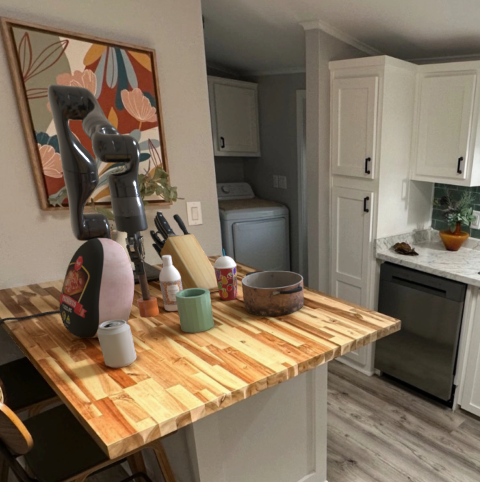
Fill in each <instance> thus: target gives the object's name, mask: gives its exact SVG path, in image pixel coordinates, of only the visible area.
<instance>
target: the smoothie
mask: <svg viewBox="0 0 480 482" xmlns="http://www.w3.org/2000/svg"><path fill="white" fill-rule="evenodd" d="M221 251H222V255H221V256H219V257H217V258H216V260H215V261H214V264H213V268H214V270H215V275H216V280H217V285H218V295H219V297H220V298H221V300H223V301H232V300H235V299H237V296H238V295H239V293H238V272H237V271H238V270H237V263H236V262H235V260H234V259H233V258H232V257H231V256H228V255H226V254H225V253H226V252H225V249H224V248H222V250H221Z"/></svg>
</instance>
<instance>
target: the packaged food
mask: <svg viewBox="0 0 480 482" xmlns="http://www.w3.org/2000/svg"><path fill="white" fill-rule="evenodd" d="M111 239H112V238H111ZM111 239H107V238H95V239H91V240H88V241H84V242H83V243H82V244H80V246H79V247H78V248H77V249H76V251H75V252H74V254H73V255H72V257H71V259H70V261H69V263H68V266H67V267H66V270H65V271H66V272H65V274H64V275H65V276H64V280H63V284H62V288H61V292H60V297H59V310H60V313H59V315H60V318H61V322H62V324H63V326H64V328H65V329H66V331H68V332H69V334H72V335H73V336H74V337H76V338H82V339H93V338H98V334H97V331H98V329H99V325H100V324H101V323H103V322H106V321H110V320H118V319H119V320H125V321H126V324H128V323H129V319H130V315H131V311H132V307H133V303H134V302H133V301H134V295H135V294H134V293H135V276H134V271H133V267H132V265H131V260H130V257H129V255H128V254H127V252H126V250H125V248H124V247H123V246H122V244H120V243H119V242H117V241H115V240H113V239H112V240H111Z"/></svg>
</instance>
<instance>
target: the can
mask: <svg viewBox="0 0 480 482" xmlns="http://www.w3.org/2000/svg"><path fill="white" fill-rule="evenodd" d="M97 334H98V337H97V338H98V342H99V345H100V349H101V354H102V357H103V361H104V364H105V366H108V367H110V368H113V369H119V368H125V367H127V366H130V365H131V364H133V363H134V361H136V359H137V352H136V348H135V343H134V339H133V334H132V330H131V325H129V324H128V323H127V324H126V321H125V320H119V319H118V320H110V321H106V322H103V323H101V324H100V325H99V329H98V331H97Z"/></svg>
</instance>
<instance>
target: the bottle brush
mask: <svg viewBox="0 0 480 482" xmlns="http://www.w3.org/2000/svg"><path fill="white" fill-rule="evenodd" d="M135 257H138V256H135ZM142 258H143V257H142ZM143 264H144V262H143ZM144 270H145V267H144ZM137 278H138V282H139V287H140V292H141V297H139V298H138V299H137V300H136V302H137V307H138V313H139V316H140V317H141V318H144V319H148V318H149V319H150V318H154V317H157V316H159V315H160V311H159V305H158V300H157V299H158V298H157V297H156V296H151V294H150V288H149V284H148V278H147V272H145V274H144V275H137Z"/></svg>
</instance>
